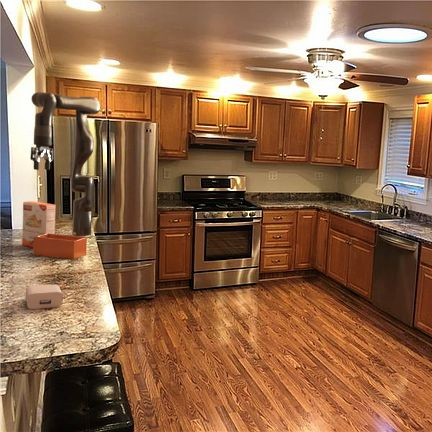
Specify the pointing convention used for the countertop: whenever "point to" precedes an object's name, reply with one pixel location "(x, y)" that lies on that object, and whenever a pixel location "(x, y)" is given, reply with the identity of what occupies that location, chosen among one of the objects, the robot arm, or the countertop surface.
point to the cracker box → (37, 221)
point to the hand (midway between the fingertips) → (41, 169)
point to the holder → (60, 246)
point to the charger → (43, 296)
